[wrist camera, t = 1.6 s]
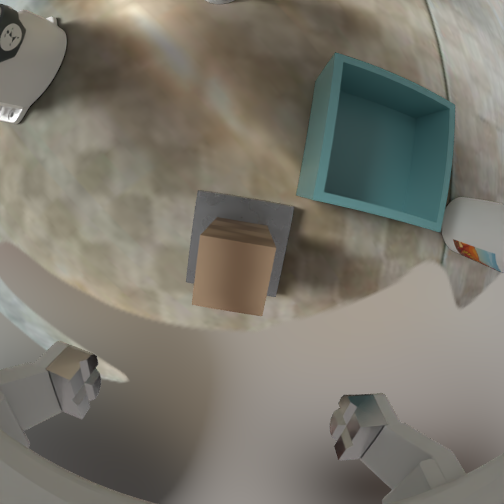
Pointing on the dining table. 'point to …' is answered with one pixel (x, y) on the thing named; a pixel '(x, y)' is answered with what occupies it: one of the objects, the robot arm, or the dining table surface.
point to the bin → (378, 144)
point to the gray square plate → (246, 211)
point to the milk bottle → (476, 230)
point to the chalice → (219, 1)
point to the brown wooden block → (234, 266)
